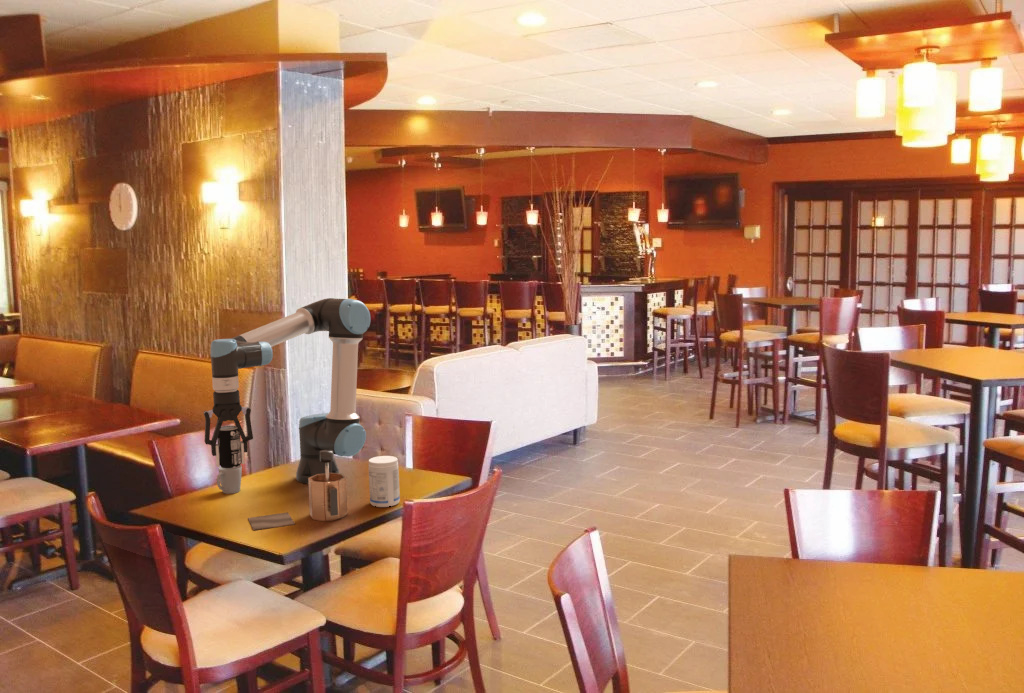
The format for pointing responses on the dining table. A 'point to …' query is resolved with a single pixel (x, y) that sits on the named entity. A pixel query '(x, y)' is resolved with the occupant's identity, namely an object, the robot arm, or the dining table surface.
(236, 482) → the cup
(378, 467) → the supplement tub
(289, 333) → the robot arm
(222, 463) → the beverage can
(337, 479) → the press carafe
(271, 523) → the gray-brown square tile
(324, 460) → the plunger
